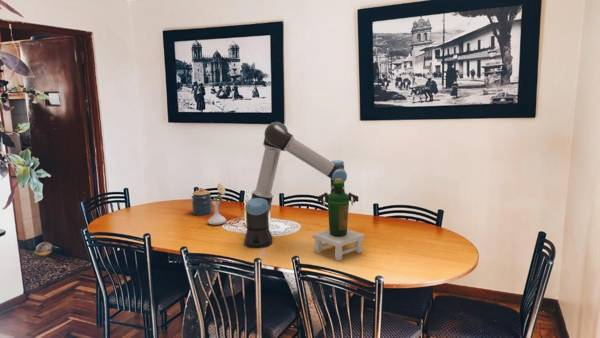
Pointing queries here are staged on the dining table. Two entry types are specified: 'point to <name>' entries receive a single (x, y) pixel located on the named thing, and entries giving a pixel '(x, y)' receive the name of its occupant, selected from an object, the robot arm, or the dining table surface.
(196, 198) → the canister
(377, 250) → the dining table surface
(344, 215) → the bottle
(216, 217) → the flower in vase
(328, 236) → the stool
